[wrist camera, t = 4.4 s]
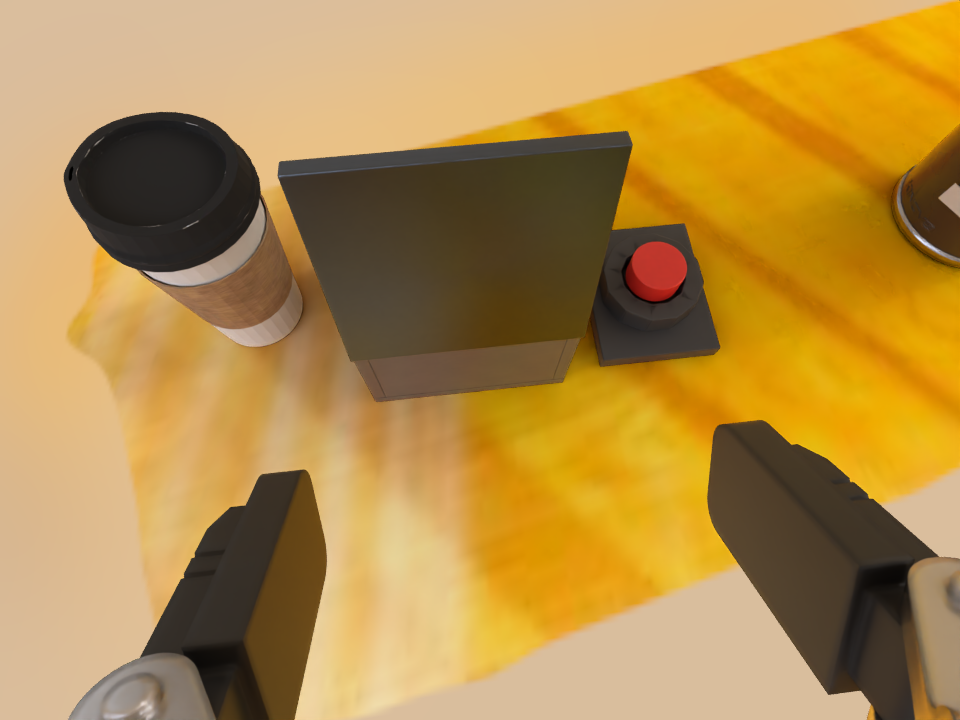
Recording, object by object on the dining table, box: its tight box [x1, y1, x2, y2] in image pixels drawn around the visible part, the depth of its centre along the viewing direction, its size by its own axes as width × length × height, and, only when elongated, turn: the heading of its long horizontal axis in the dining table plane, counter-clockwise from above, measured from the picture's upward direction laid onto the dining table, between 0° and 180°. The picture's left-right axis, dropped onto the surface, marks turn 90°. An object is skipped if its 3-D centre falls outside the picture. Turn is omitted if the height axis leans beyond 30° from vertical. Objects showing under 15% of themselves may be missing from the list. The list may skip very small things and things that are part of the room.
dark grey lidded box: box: [355, 338, 580, 402], centre depth 37 cm, size 12×13×8 cm
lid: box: [278, 131, 633, 362], centre depth 26 cm, size 12×13×1 cm
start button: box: [626, 242, 687, 302], centre depth 38 cm, size 4×4×2 cm
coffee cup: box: [64, 112, 303, 347], centre depth 34 cm, size 8×8×15 cm
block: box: [590, 224, 720, 366], centre depth 40 cm, size 8×10×3 cm
